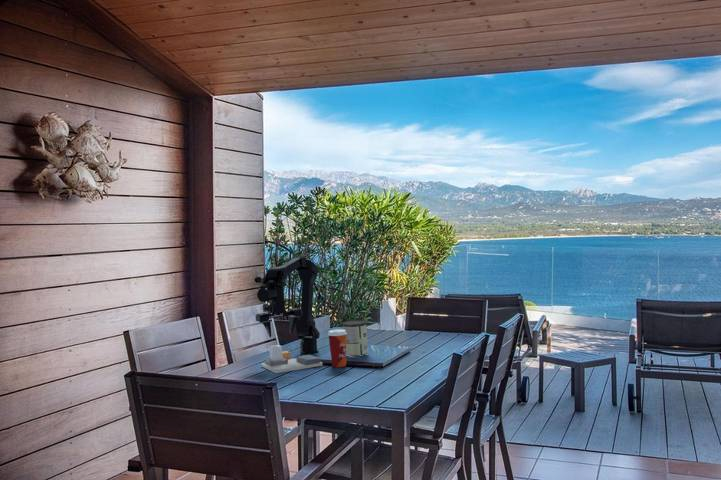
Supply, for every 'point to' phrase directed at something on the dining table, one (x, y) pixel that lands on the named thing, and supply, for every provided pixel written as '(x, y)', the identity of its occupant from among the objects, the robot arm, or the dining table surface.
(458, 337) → the dining table surface
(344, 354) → the paper cup
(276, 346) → the block
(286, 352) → the cable plug
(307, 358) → the grey piece
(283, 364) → the board
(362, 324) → the coffee can
